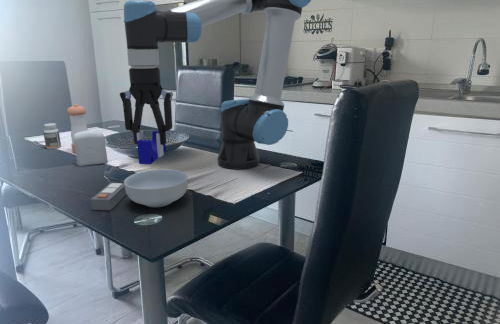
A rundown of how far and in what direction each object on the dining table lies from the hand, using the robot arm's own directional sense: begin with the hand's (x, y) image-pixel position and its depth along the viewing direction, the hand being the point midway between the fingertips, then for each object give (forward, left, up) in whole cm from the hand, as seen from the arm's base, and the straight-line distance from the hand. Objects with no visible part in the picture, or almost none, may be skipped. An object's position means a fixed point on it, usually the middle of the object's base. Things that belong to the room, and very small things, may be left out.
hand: (151, 155), depth 103 cm
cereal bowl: (-1, +1, -13) cm, 13 cm away
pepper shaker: (+45, -47, -13) cm, 66 cm away
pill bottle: (+60, -52, -13) cm, 80 cm away
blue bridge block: (0, 0, 0) cm, 1 cm away
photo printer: (+33, -31, -13) cm, 47 cm away
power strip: (+12, 0, -13) cm, 18 cm away
